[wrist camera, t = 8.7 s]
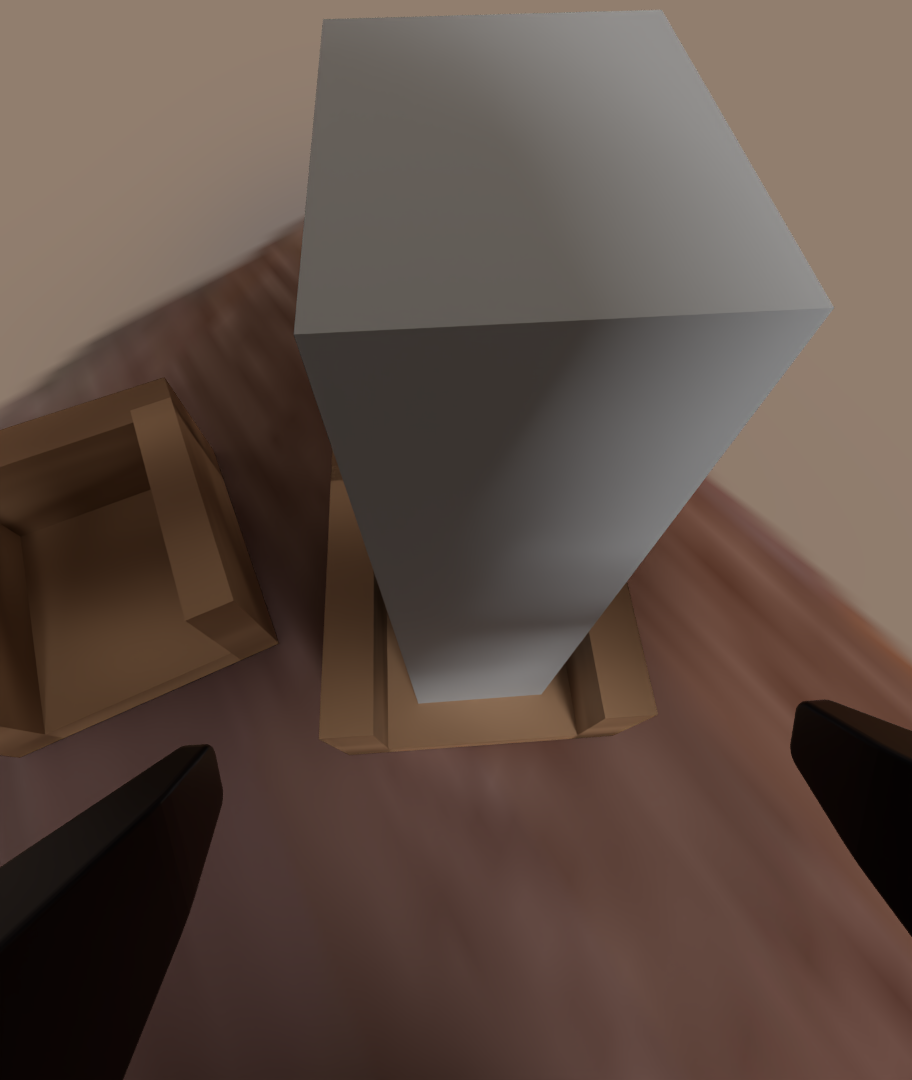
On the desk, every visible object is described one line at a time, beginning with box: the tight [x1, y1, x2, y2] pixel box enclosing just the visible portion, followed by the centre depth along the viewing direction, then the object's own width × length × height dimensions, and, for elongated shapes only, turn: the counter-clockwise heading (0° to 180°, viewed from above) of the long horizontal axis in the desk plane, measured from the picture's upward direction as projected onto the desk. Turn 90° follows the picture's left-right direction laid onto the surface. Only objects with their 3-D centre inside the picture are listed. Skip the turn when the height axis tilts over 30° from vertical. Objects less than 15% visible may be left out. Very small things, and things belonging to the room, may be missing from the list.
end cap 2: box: [319, 449, 658, 755], centre depth 15 cm, size 8×8×4 cm
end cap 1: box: [0, 378, 279, 758], centre depth 16 cm, size 8×8×4 cm
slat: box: [294, 10, 834, 704], centre depth 10 cm, size 4×4×13 cm
